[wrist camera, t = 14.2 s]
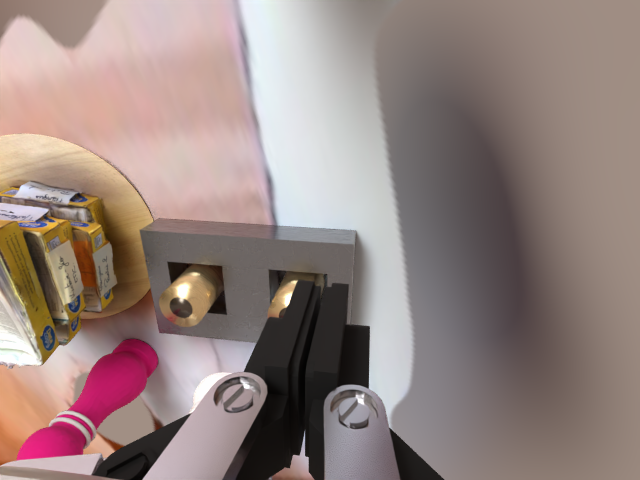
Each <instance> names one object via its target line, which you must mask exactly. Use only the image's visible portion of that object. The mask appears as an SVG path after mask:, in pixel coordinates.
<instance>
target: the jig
mask: <svg viewBox="0 0 640 480" xmlns="http://www.w3.org/2000/svg"><path fill="white" fill-rule="evenodd" d="M140 235H141V241H142V246H143V251H144V256H145V261H146V266H147V271H148V276H149V282H150V287H151V292H152V297H153V302H154V307H155V312H156V317H157V323H158V328H159V333H167V334H177V335H187V336H196V337H206V338H216V339H225V340H235V341H245V342H254V343H257V341H258V339H259V337H260V335H261V332H262V330H263V328H264V326H265V324H266V321H267V320H268V309H269V307H270V304H271V302H272V300H273V298H274V296H275V294H276V292H277V290H278V288H279V285H278V270H283V271H296V272H309V273H322V274H328V275H327V287H331V286H332V283H342V284H349V293H348V311H347V324H350V325H351V310H352V292H353V274H354V256H355V238H356V231H354V230H338V229H322V228H306V227H290V226H274V225H258V224H242V223H226V222H210V221H193V220H177V219H161V218H159V219H157V220H155V221H154V222H152V223H150V224H149V225H147V226H145V227H144V228H142V229H140ZM186 263H193V264H192V265H191V266H190V267H189V268H187V266H186ZM223 290H225V296H219V295H220V294H221V293H222V291H223ZM320 306H321V305H320Z"/></svg>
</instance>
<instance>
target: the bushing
mask: <svg viewBox="0 0 640 480" xmlns="http://www.w3.org/2000/svg"><path fill="white" fill-rule="evenodd" d="M298 280H306V281H315V286H321V296H322V292H323V289H324V285H325V278H324V275H323V274H322V273H309V272H296V271H287V272H286V274H285V276H284V278H283V280H282V282H281V284H280V286H279V288H278V290H277V292H276V294H275V296H274V298H273V300H272V302H271V304H270V307H269V309H268V318H269V317H278V318H283V316H284V314H285V311H286V308H287V306H288V303H289V301H290V298H291V296H292V293H293V290H294V288H295V285H296V283H297V281H298Z"/></svg>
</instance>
